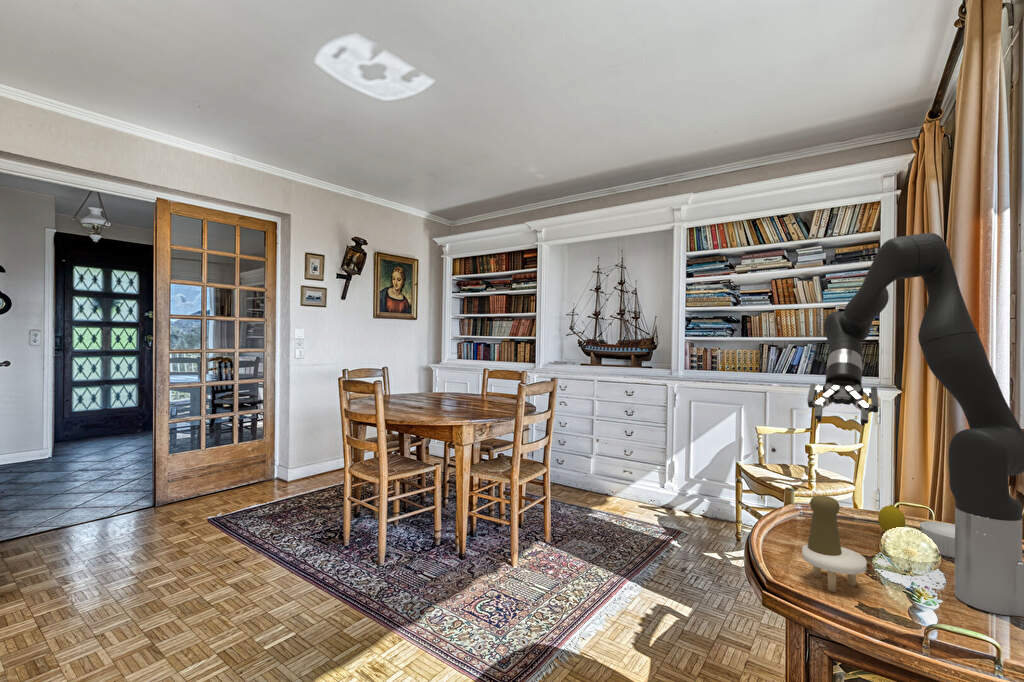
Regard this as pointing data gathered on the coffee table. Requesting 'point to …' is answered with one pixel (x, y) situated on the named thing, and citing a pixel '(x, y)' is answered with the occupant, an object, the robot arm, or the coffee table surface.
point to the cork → (824, 526)
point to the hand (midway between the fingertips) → (840, 421)
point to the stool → (836, 565)
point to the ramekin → (941, 536)
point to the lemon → (891, 518)
